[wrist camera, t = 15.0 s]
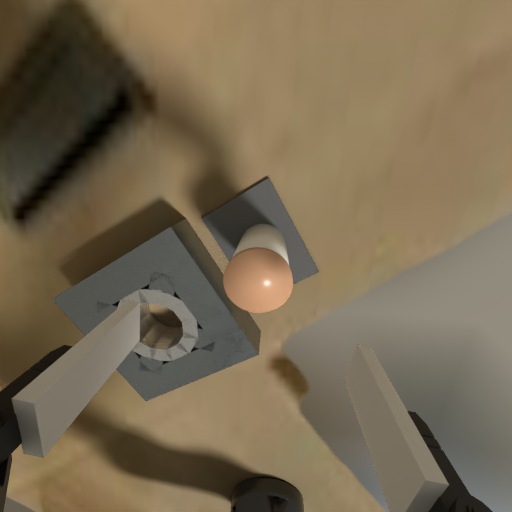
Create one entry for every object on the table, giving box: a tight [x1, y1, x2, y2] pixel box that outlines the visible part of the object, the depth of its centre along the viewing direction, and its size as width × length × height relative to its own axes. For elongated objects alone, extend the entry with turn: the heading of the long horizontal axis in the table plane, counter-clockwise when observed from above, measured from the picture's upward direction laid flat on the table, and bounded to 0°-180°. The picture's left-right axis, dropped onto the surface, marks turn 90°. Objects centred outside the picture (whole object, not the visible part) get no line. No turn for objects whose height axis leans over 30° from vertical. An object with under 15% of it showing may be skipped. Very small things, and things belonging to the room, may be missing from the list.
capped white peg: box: [223, 224, 293, 313], centre depth 26 cm, size 6×6×11 cm
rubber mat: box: [202, 178, 319, 284], centre depth 32 cm, size 14×10×1 cm
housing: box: [52, 219, 261, 401], centre depth 34 cm, size 20×20×5 cm
